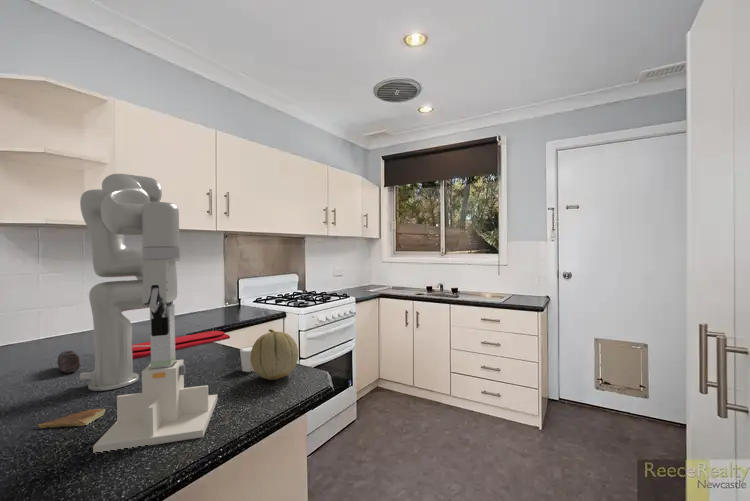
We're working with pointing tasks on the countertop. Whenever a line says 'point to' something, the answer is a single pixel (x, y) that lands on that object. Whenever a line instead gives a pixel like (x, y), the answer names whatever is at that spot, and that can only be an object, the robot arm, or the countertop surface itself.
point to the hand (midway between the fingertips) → (162, 332)
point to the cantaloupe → (274, 355)
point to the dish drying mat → (181, 342)
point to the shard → (74, 419)
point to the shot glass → (246, 359)
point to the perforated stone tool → (68, 361)
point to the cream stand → (159, 411)
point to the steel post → (164, 343)
